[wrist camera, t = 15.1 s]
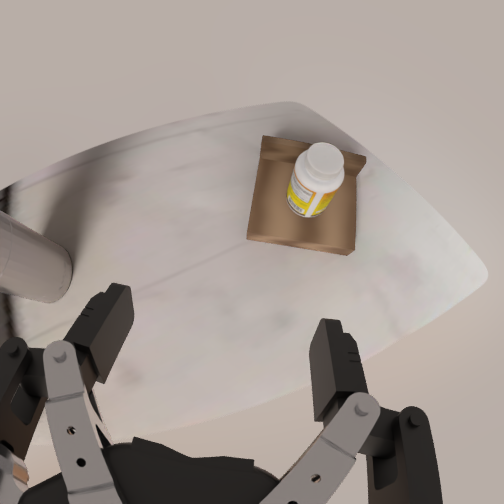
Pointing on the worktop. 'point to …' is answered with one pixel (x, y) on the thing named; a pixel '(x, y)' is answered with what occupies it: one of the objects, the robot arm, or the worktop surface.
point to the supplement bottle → (315, 179)
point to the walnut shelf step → (285, 219)
